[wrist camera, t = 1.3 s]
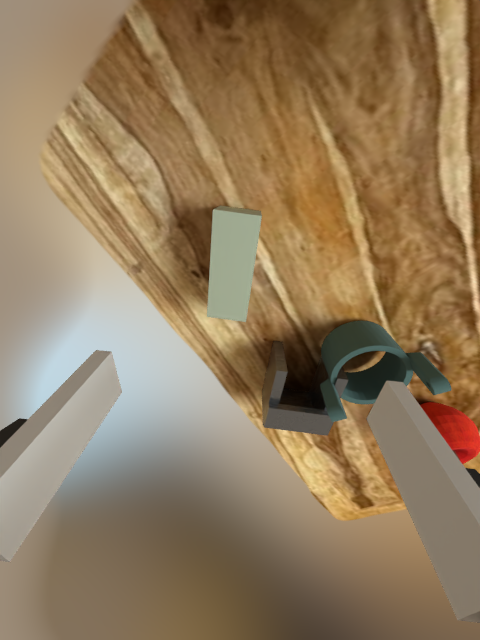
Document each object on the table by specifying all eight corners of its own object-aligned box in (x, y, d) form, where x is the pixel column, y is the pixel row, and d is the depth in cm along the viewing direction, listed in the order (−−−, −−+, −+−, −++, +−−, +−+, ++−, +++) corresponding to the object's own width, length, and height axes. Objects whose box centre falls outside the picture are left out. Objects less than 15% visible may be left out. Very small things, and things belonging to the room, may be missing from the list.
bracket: (307, 364, 32) (322, 421, 24) (346, 307, 27) (380, 355, 19) (365, 385, 33) (398, 446, 25) (412, 333, 28) (470, 389, 20)
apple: (398, 392, 34) (431, 440, 27) (459, 387, 33) (510, 436, 26) (391, 428, 37) (419, 478, 31) (446, 425, 36) (486, 476, 30)
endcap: (273, 340, 31) (277, 375, 25) (333, 348, 31) (351, 385, 25) (262, 391, 35) (263, 430, 29) (314, 398, 35) (325, 438, 29)
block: (221, 205, 24) (212, 209, 19) (260, 210, 24) (261, 215, 19) (214, 297, 28) (207, 316, 24) (247, 301, 28) (245, 321, 24)
